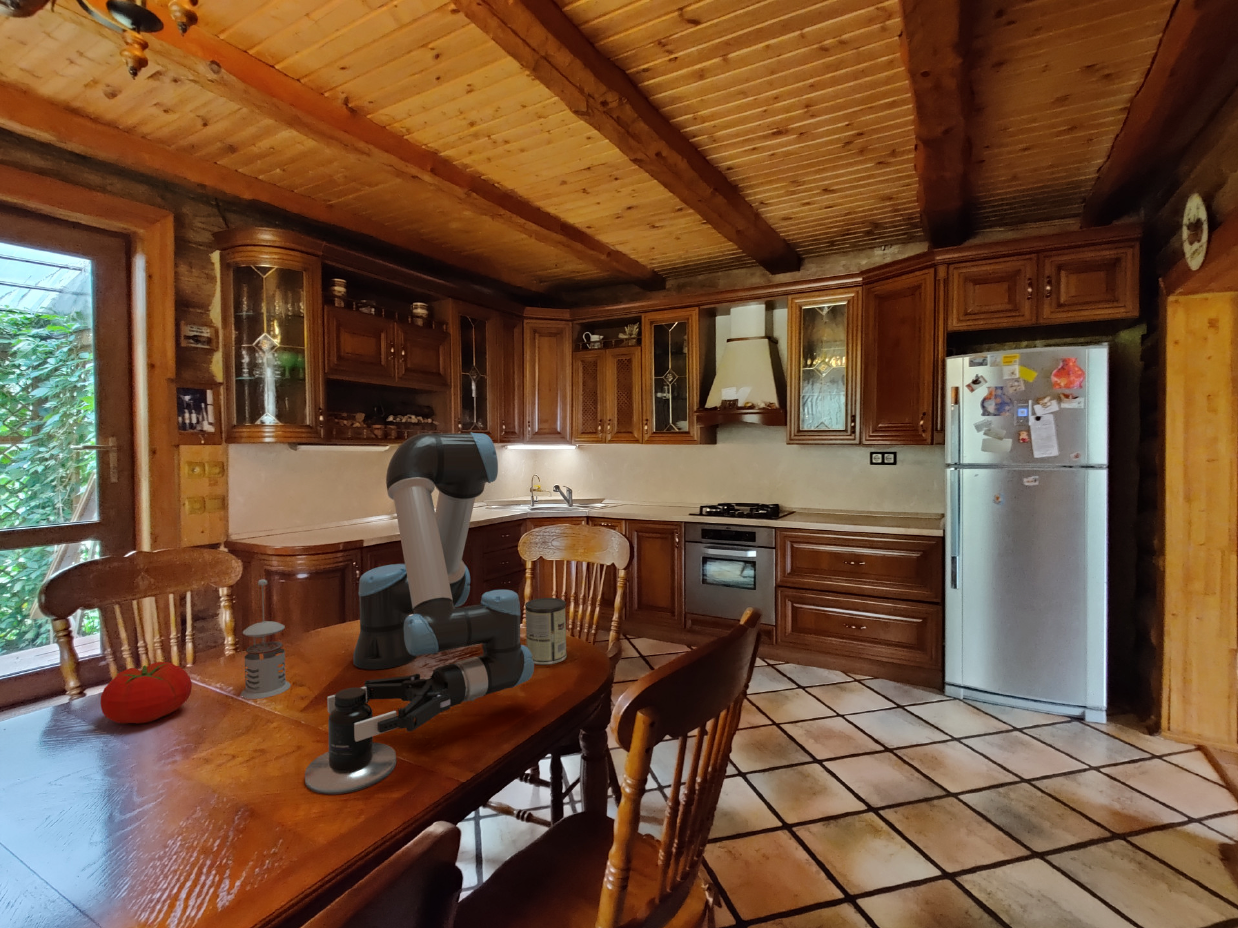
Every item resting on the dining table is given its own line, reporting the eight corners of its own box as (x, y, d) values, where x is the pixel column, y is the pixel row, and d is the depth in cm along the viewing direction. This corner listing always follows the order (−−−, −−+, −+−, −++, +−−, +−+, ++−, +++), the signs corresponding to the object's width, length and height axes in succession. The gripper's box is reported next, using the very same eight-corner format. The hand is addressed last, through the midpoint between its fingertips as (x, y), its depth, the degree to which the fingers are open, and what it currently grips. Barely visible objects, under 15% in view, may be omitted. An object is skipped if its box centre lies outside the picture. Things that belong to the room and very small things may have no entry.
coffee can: (531, 649, 159) (530, 597, 159) (569, 650, 158) (569, 597, 158) (521, 664, 149) (520, 608, 149) (562, 665, 148) (561, 608, 147)
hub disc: (294, 769, 102) (294, 762, 102) (377, 740, 111) (377, 734, 111) (320, 805, 92) (320, 797, 92) (409, 770, 101) (409, 763, 101)
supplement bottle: (329, 777, 97) (327, 704, 97) (328, 758, 103) (326, 689, 103) (375, 766, 100) (373, 695, 100) (371, 748, 106) (369, 681, 106)
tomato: (173, 694, 133) (171, 650, 133) (204, 713, 124) (202, 666, 123) (89, 719, 121) (86, 671, 121) (116, 742, 112) (113, 690, 111)
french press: (244, 702, 128) (240, 586, 127) (235, 686, 137) (231, 577, 136) (295, 689, 135) (292, 579, 134) (283, 675, 144) (279, 571, 143)
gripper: (492, 724, 105) (368, 769, 91) (429, 683, 124) (318, 715, 110) (491, 682, 105) (367, 721, 91) (428, 647, 124) (317, 674, 109)
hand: (340, 718), depth 100 cm, fingers open, 13 cm apart
